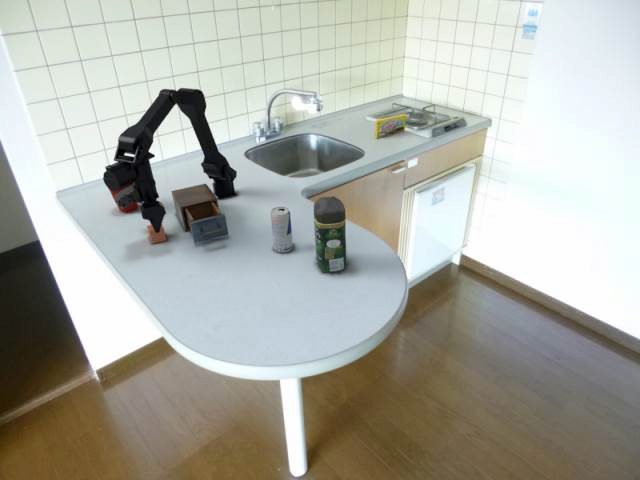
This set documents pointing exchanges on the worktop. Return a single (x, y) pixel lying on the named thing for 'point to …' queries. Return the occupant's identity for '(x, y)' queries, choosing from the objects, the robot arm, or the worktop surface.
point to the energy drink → (281, 229)
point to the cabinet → (191, 200)
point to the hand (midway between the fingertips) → (155, 225)
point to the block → (156, 234)
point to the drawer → (206, 222)
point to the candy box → (390, 126)
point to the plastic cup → (130, 207)
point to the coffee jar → (330, 234)
